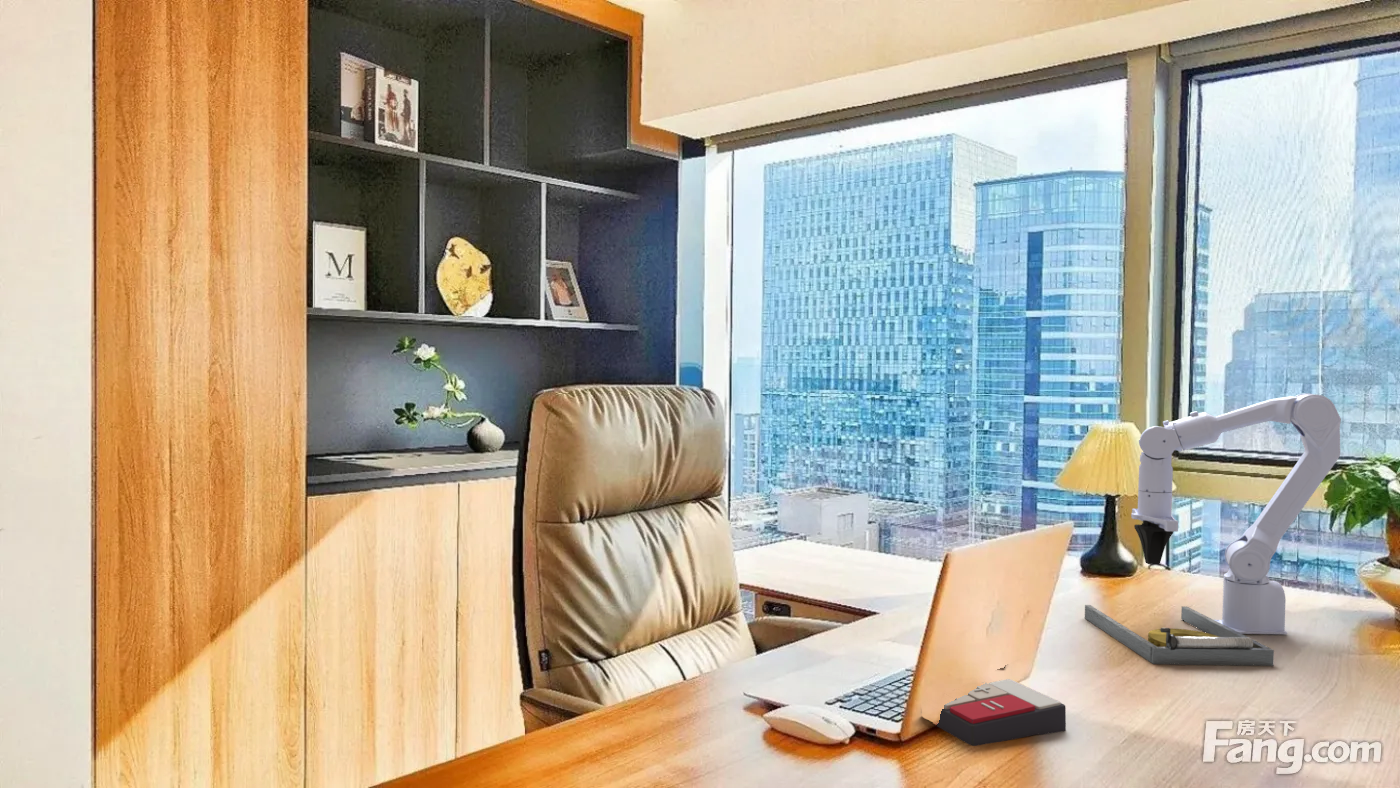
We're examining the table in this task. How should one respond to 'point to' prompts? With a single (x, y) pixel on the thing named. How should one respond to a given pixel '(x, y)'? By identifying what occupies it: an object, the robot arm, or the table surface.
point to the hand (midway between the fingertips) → (1152, 563)
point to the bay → (1184, 654)
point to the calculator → (1002, 714)
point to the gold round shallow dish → (1160, 637)
